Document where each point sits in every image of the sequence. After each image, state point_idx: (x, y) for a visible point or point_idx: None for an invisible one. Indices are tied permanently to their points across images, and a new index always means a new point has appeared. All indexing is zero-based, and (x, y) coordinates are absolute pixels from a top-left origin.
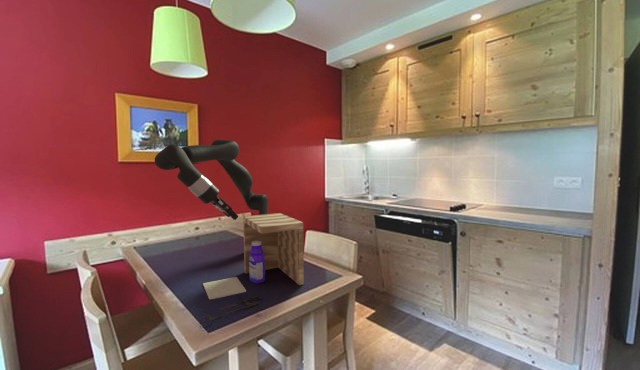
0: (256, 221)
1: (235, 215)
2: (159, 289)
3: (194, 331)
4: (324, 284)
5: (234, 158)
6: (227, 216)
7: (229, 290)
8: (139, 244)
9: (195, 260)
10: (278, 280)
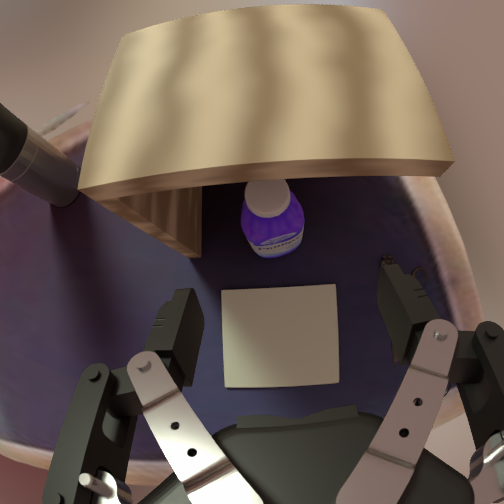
0: (280, 137)
1: (419, 291)
2: None
3: (451, 405)
4: None
5: None
6: (200, 331)
7: (314, 327)
8: None
9: (49, 359)
10: (297, 184)
